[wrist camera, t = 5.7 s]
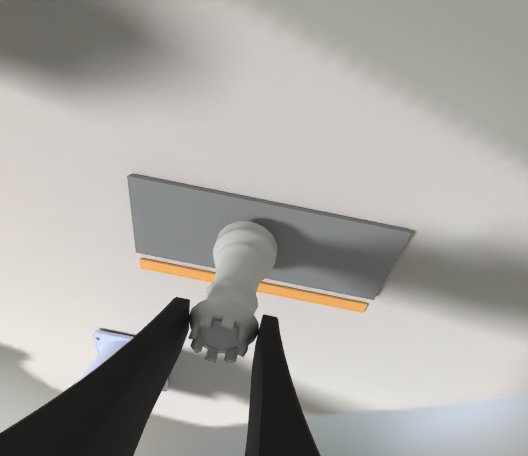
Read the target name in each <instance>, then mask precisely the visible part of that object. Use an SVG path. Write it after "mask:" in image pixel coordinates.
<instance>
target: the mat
mask: <svg viewBox="0 0 528 456" xmlns="http://www.w3.org/2000/svg"><path fill="white" fill-rule="evenodd" d="M127 179H128V187H129V196H130V204H131V213H132V222H133V230H134V239H135V248H136V253H141V254H146V255H151V256H156V257H161V258H166V259H171V260H176V261H181V262H186V263H191V264H196V265H201V266H206V267H211V268H216V267H215V263H214V257H213V248H214V245H215V242H216V240H217V237H218V235H219V232H220V231H222V230H223V229H224V228H225V227H226V226H227V225H229V224H232V223H235V222H237V221H251V222H254V223H256V224H259V225H261V226H264V227H265V228H266V229H267V230H268V231H269V232H270V233H271V234H272V235H273V237H274V239H275V241H276V244H277V257H276V260H275V264H274V266H273V268H272V270H271V272H270V274H269V275H268V276H266V277H265V278H266V279H271V280H276V281H281V282H286V283H291V284H296V285H301V286H306V287H311V288H316V289H321V290H326V291H331V292H336V293H341V294H346V295H351V296H356V297H361V298H366V299H371V300H374V299H375V297H376V295H377V293H378V292H379V290H380V288H381V286H382V285H383V283H384V281H385V279H386V277H387V276H388V274H389V272H390V270H391V269H392V267H393V265H394V263H395V262H396V260H397V258H398V256H399V255H400V253H401V251H402V249H403V248H404V246H405V244H406V242H407V240H408V239H409V237H410V235H411V232H410V231H409V230H408V229H405V228H400V227H395V226H391V225H386V224H381V223H376V222H371V221H366V220H361V219H356V218H351V217H346V216H341V215H336V214H331V213H326V212H321V211H316V210H311V209H306V208H301V207H296V206H291V205H286V204H281V203H276V202H271V201H266V200H261V199H256V198H251V197H246V196H241V195H236V194H231V193H226V192H221V191H216V190H211V189H206V188H201V187H196V186H191V185H186V184H181V183H176V182H171V181H166V180H161V179H156V178H151V177H147V176H142V175H137V174H130V175H128V176H127Z"/></svg>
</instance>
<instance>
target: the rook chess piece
mask: <svg viewBox="0 0 528 456" xmlns="http://www.w3.org/2000/svg"><path fill="white" fill-rule="evenodd" d="M213 257H214V263H215V267H216V274H215V279H214V283H212V284H211V285H210V286H209V287H208V288H207V289H206V292H205V294H204V299H205V300H204V301H202V302H200V303H198V304H197V305H196V306H195V307H193V308H192V310H191V312H190V315H189V322H190V327H191V330H192V331H191V333H190V336H189V339H193V341H192V343H191V347H192V349H193V350H194V351H195V352H196V353H198V352H200V351H201V350H202V347H203V346H204V347H205V348H207V349H208V351H207V354H206V357H205V359H207V360H210V361H213V362H215V361H216V358H217V354H218V353H226V354H225V358H224V360H225V362H226V363H231V362H236V359H237V354H238V355H240V356H242V357H244V355H245V354H246V352H247V349H248V345H249V344H250V343H252V342H253V341H254V340H255V338H256V336H257V335H258V333H259V325H258V321H257V320H256V318H255V316H254V313H255V311H256V309H257V307H258V302H257V297H256V291H257V289H258V286H259V283H260V282H261V281H262V280H263V279H264V278H265V277H266V276H268V275H269V274H270V272H271V270H272V268H273V266H274V264H275V260H276V257H277V244H276V241H275V239H274V237H273V235H272V234H271V233H270V232H269V231H268V230H267V229H266V228H265V227H264V226H261V225H259V224H256V223H254V222H251V221H237V222H235V223H232V224H229V225H227V226H226V227H225V228H224V229H223V230H222V231H220V232H219V235H218V237H217V240H216V242H215V245H214V248H213Z"/></svg>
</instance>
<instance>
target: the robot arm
mask: <svg viewBox="0 0 528 456" xmlns="http://www.w3.org/2000/svg"><path fill="white" fill-rule="evenodd" d="M189 306H190V300H188V299H183V298H178V297H176V298H174V299H173V300H172V301H171V302H170V303H169V304H168V305H167V306H166V307H165V308H164V309H163V310H162V311H161V312H160V313H159V314H158V315H157V316H156V317H155V318H154V319H153V320H152V321H151V322H150V323H149V324H148V325H147V326H146V327H144V328H143V329H142V330H141V331H140V332H139V333H138V334H137V335H136V336H135V337H132V336H127V335H122V334H117V333H112V332H107V331H102V330H95V332H94V333H93V337H94V340H95V344H96V347H97V351H98V354H97V355H96V356H95V358H94V359H93V360H92V361H91V363H90V364H89V365H88V367H87V368H86V369H85V371H84V372H83V373H82V374H81V376H80V377H79V378H78V380H77V381H76V382H75V384H74V385H73V386H71V387H70V388H68V389H67V390H65V391H64V392H63V393H61V394H60V395H58V396H57V397H56V398H54V399H53V400H51V401H50V402H48V403H47V404H45V405H44V406H42V407H41V408H39V409H38V410H36V411H34V412H33V413H31V414H30V415H28V416H27V417H25V418H24V419H22V420H20V421H19V422H17V423H16V424H14V425H12V426H11V427H9V428H8V429H6V430H4V431H3V432H1V433H0V456H133V455H134V452H135V450H136V447H137V445H138V442H139V440H140V437H141V435H142V433H143V430H144V427H145V425H146V423H147V420H148V418H149V416H150V414H151V411H152V409H153V407H154V405H155V403H156V401H157V399H158V397H159V395H160V393H161V391H167V390H168V377H169V375H170V373H171V371H172V369H173V367H174V364H175V362H176V360H177V358H178V356H179V354H180V352H181V349H182V347H183V344H184V341H185V339H186V336H187V333H188V330H189ZM245 456H320V454H319V451H318V449H317V447H316V444H315V442H314V440H313V437H312V435H311V432H310V430H309V427H308V425H307V422H306V420H305V417H304V414H303V412H302V409H301V406H300V404H299V401H298V398H297V395H296V392H295V389H294V386H293V383H292V379H291V376H290V373H289V369H288V365H287V362H286V358H285V354H284V350H283V346H282V341H281V336H280V330H279V323H278V319H277V317H273V316H268V315H263V317H262V321H261V324H260V328H259V333H258V336H257V340H256V345H255V352H254V358H253V365H252V376H251V391H250V407H249V422H248V434H247V443H246V451H245Z"/></svg>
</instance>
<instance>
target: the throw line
mask: <svg viewBox="0 0 528 456" xmlns="http://www.w3.org/2000/svg"><path fill="white" fill-rule="evenodd" d="M140 265H141V268H142V269H147V270H152V271H157V272H162V273H167V274H172V275H177V276H182V277H187V278H192V279H197V280H202V281H207V282H212V283H214V279H215V274H216V273H214V272H209V271H204V270H199V269H194V268H189V267H184V266H179V265H174V264H169V263H164V262H159V261H154V260H149V259H144V258H141V259H140ZM257 292H262V293H267V294H272V295H277V296H282V297H287V298H292V299H297V300H302V301H307V302H312V303H317V304H322V305H327V306H332V307H337V308H342V309H347V310H352V311H357V312H362V313H363V312H364V310H365V308H366V307H367V303H364V302H359V301H354V300H349V299H344V298H339V297H334V296H329V295H324V294H319V293H314V292H309V291H304V290H299V289H294V288H289V287H284V286H279V285H274V284H269V283H264V282H260V283H259V286H258V289H257Z"/></svg>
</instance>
